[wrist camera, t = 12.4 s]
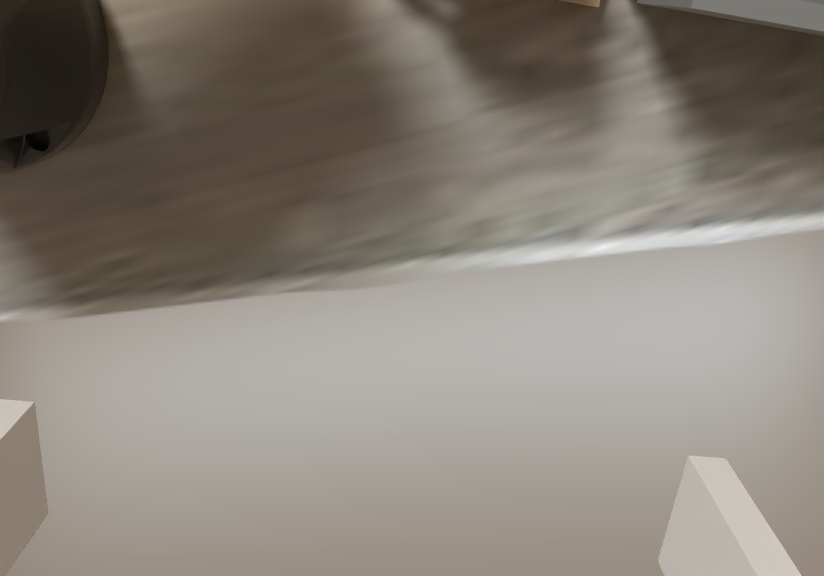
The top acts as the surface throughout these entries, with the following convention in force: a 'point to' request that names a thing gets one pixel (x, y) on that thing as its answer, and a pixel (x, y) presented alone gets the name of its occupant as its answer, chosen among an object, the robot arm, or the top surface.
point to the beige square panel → (584, 2)
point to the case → (756, 12)
